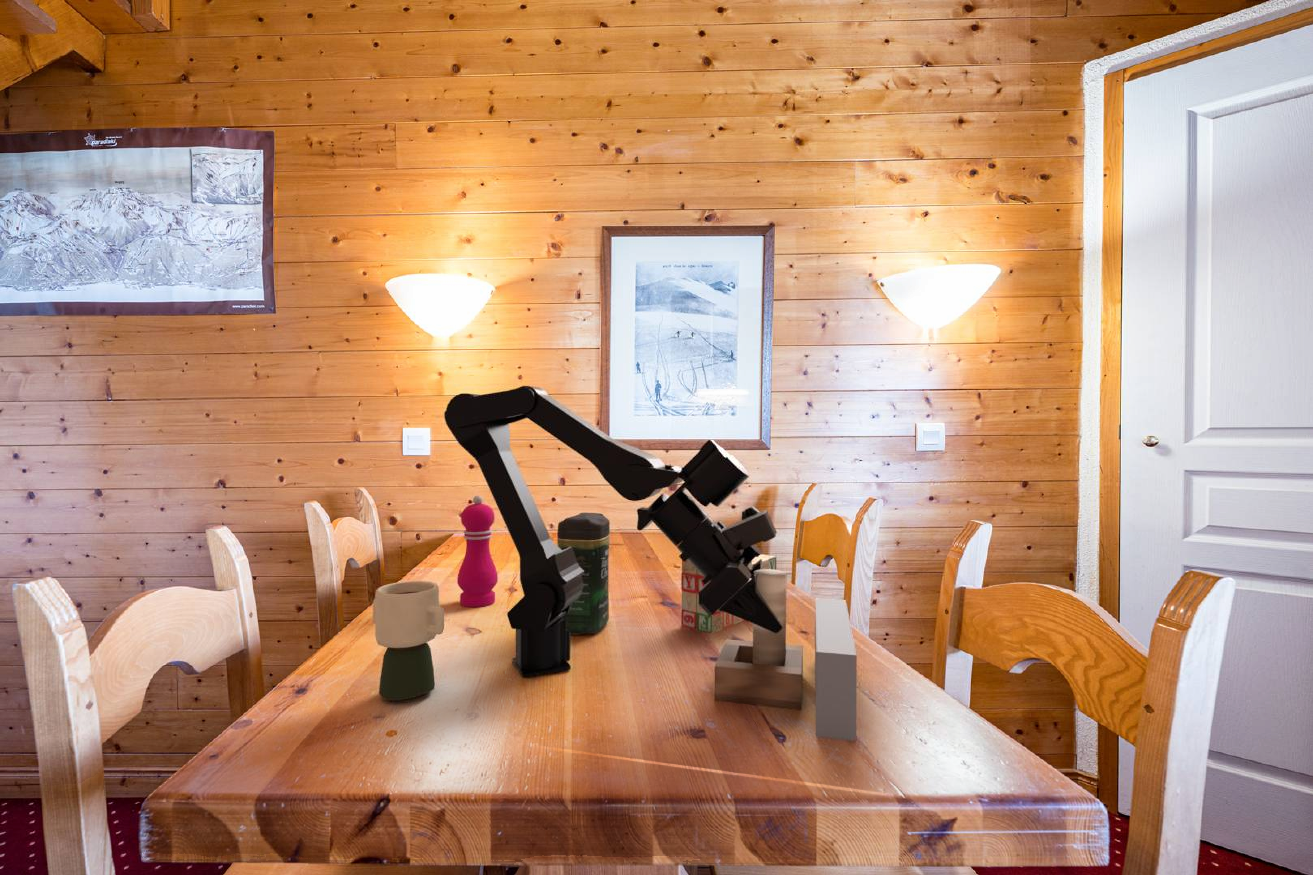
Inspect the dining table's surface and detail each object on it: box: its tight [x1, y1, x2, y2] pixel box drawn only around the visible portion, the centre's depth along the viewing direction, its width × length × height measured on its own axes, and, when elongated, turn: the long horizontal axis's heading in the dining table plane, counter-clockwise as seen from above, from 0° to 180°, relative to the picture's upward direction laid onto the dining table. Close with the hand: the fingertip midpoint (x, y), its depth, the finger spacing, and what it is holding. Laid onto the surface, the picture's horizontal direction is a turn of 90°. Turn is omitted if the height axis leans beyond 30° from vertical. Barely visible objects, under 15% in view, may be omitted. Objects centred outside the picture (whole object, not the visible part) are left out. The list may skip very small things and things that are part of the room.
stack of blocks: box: [680, 553, 777, 634], centre depth 109 cm, size 21×6×12 cm, turn 141°
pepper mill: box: [456, 494, 499, 608], centre depth 116 cm, size 7×7×20 cm
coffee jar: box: [556, 512, 611, 636], centre depth 102 cm, size 10×8×19 cm
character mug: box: [372, 580, 445, 701], centre depth 75 cm, size 11×7×13 cm, turn 66°
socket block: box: [714, 638, 804, 710], centre depth 78 cm, size 10×10×4 cm
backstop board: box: [814, 597, 858, 742], centre depth 75 cm, size 4×22×9 cm, turn 166°
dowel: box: [752, 569, 788, 667], centre depth 77 cm, size 4×4×13 cm
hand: (780, 625), depth 77 cm, fingers closed on dowel, 4 cm apart
